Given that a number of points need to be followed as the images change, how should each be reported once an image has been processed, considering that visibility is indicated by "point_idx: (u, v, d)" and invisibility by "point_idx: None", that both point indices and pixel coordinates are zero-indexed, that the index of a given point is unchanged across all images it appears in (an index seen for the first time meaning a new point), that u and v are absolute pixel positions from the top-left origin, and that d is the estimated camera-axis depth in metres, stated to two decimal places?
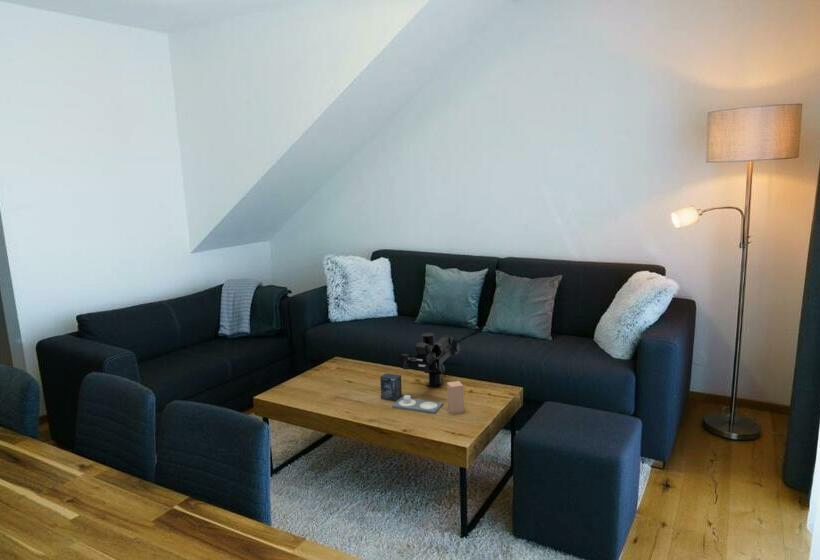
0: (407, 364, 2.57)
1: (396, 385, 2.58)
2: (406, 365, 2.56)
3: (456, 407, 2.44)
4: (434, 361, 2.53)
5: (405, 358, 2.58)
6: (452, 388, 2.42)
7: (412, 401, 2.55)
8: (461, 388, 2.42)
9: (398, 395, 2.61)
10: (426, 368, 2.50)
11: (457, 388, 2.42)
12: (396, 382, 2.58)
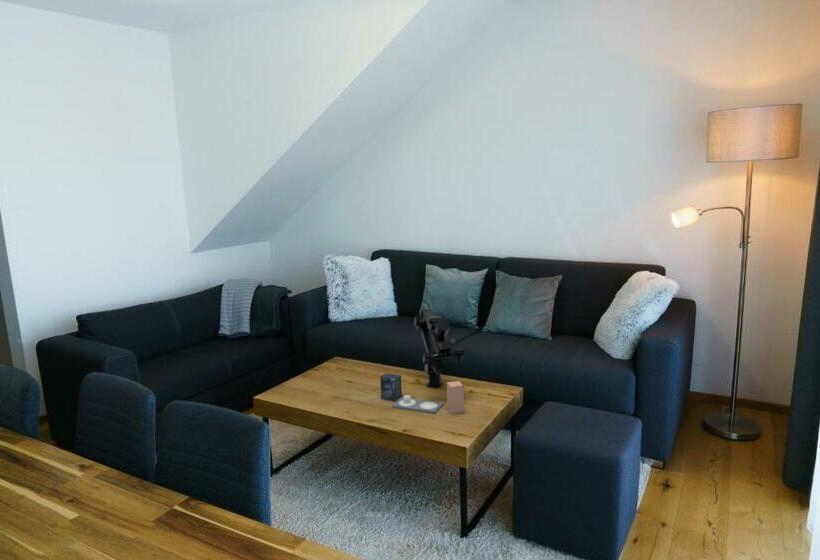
0: None
1: (396, 385, 2.58)
2: None
3: (456, 407, 2.44)
4: (462, 356, 2.55)
5: (432, 360, 2.52)
6: (452, 388, 2.42)
7: (412, 401, 2.55)
8: (461, 388, 2.42)
9: (398, 395, 2.61)
10: None
11: (457, 388, 2.42)
12: (396, 382, 2.58)
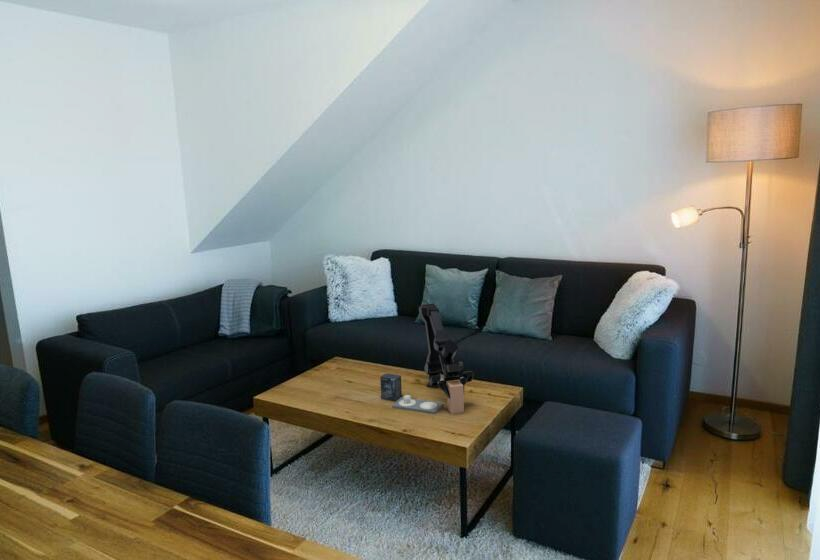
0: None
1: (396, 385, 2.58)
2: None
3: (456, 407, 2.43)
4: (466, 379, 2.47)
5: (443, 383, 2.45)
6: (452, 388, 2.42)
7: (412, 401, 2.55)
8: (461, 388, 2.42)
9: (398, 395, 2.61)
10: (463, 391, 2.46)
11: (457, 388, 2.42)
12: (396, 382, 2.58)
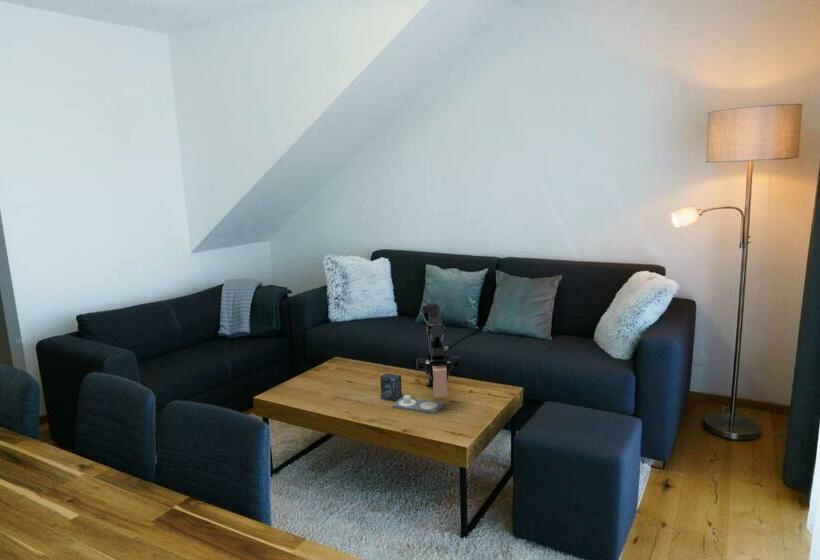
0: None
1: (396, 385, 2.58)
2: (432, 374, 2.46)
3: (439, 391, 2.44)
4: (452, 364, 2.47)
5: (428, 366, 2.46)
6: (435, 372, 2.42)
7: (412, 401, 2.55)
8: (444, 373, 2.42)
9: (398, 395, 2.61)
10: None
11: (440, 372, 2.42)
12: (396, 382, 2.58)
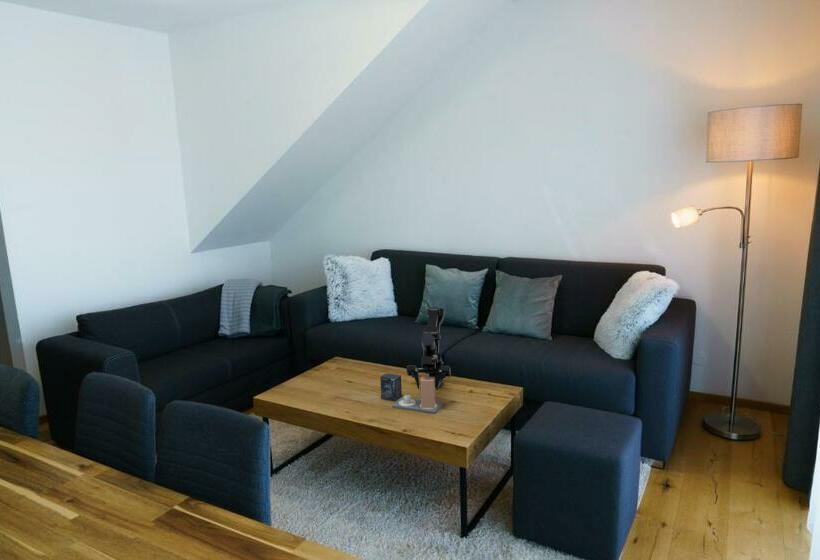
0: (418, 378, 2.51)
1: (396, 385, 2.58)
2: (418, 381, 2.50)
3: (426, 401, 2.47)
4: (443, 373, 2.48)
5: (415, 373, 2.50)
6: (422, 382, 2.46)
7: (412, 401, 2.55)
8: (431, 383, 2.46)
9: (398, 395, 2.61)
10: (438, 384, 2.48)
11: (427, 382, 2.46)
12: (396, 382, 2.58)
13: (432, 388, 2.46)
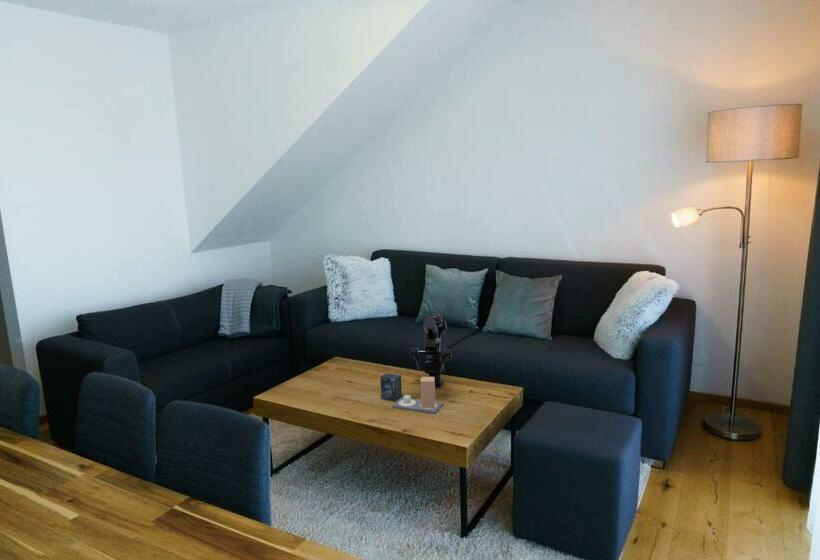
0: (419, 360, 2.59)
1: (396, 385, 2.58)
2: (419, 363, 2.58)
3: (426, 402, 2.47)
4: (447, 356, 2.57)
5: (416, 356, 2.58)
6: (422, 383, 2.46)
7: (412, 401, 2.55)
8: (431, 384, 2.45)
9: (398, 395, 2.61)
10: (442, 367, 2.56)
11: (427, 383, 2.46)
12: (396, 382, 2.58)
13: (432, 388, 2.46)
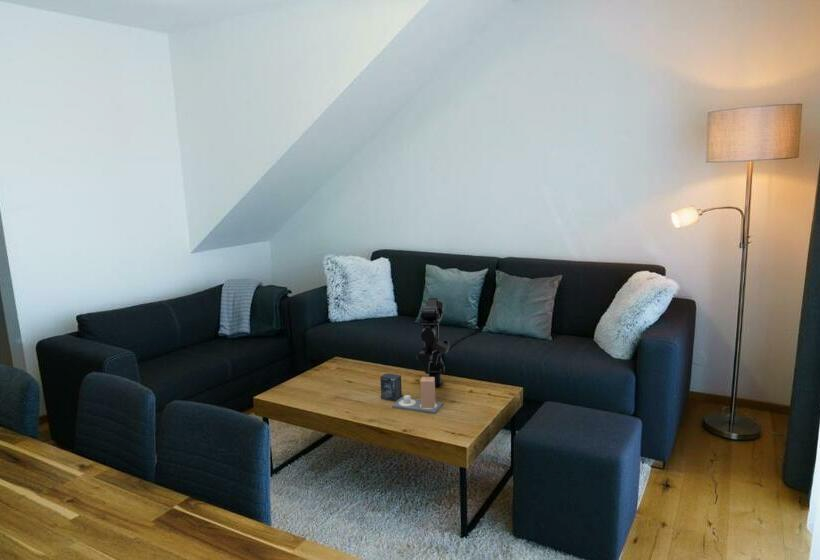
0: None
1: (396, 385, 2.58)
2: None
3: (426, 402, 2.47)
4: None
5: (430, 361, 2.52)
6: (422, 383, 2.46)
7: (412, 401, 2.55)
8: (431, 384, 2.45)
9: (398, 395, 2.61)
10: None
11: (427, 383, 2.46)
12: (396, 382, 2.58)
13: (432, 388, 2.46)
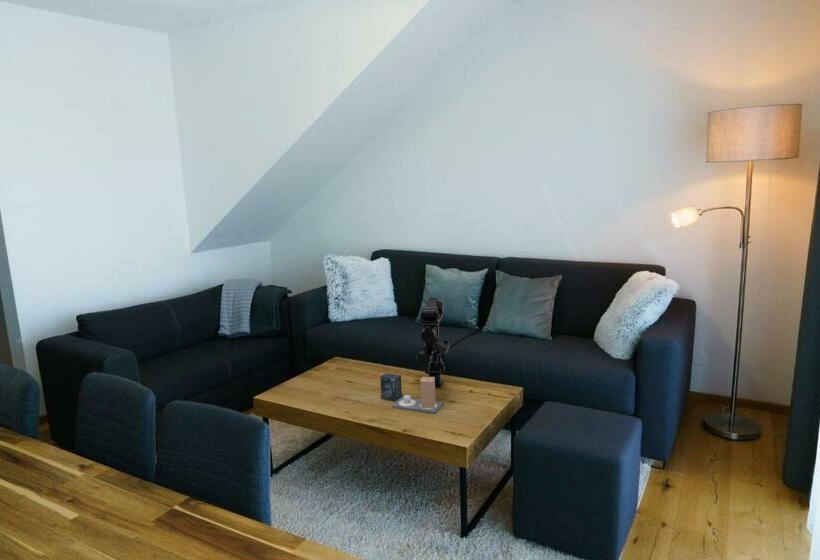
0: None
1: (396, 385, 2.58)
2: None
3: (426, 402, 2.47)
4: None
5: (430, 361, 2.52)
6: (422, 383, 2.46)
7: (412, 401, 2.55)
8: (431, 384, 2.45)
9: (398, 395, 2.61)
10: None
11: (427, 383, 2.46)
12: (396, 382, 2.58)
13: (432, 388, 2.46)
